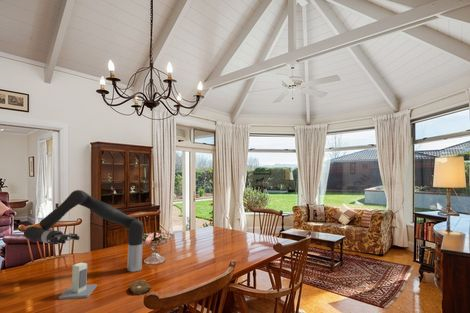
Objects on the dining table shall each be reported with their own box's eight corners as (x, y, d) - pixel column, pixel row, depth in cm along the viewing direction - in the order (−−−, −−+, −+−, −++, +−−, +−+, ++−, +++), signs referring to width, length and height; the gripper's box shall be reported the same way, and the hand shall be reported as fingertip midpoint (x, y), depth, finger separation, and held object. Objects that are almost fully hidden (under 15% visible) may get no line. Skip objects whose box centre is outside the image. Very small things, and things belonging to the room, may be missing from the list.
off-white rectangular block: (79, 287, 150) (80, 262, 151) (86, 289, 148) (87, 263, 149) (71, 291, 145) (72, 265, 146) (78, 293, 143) (79, 266, 144)
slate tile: (70, 287, 152) (70, 285, 152) (96, 286, 155) (96, 284, 155) (58, 299, 138) (58, 296, 139) (87, 297, 141) (87, 295, 141)
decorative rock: (126, 288, 154) (133, 299, 142) (126, 280, 154) (133, 291, 142) (145, 282, 161) (154, 292, 149) (145, 275, 161) (154, 285, 149)
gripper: (40, 233, 150) (60, 235, 144) (64, 228, 163) (83, 230, 157) (39, 246, 149) (59, 249, 144) (63, 240, 163) (82, 243, 157)
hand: (72, 239), depth 151 cm, fingers open, 8 cm apart
